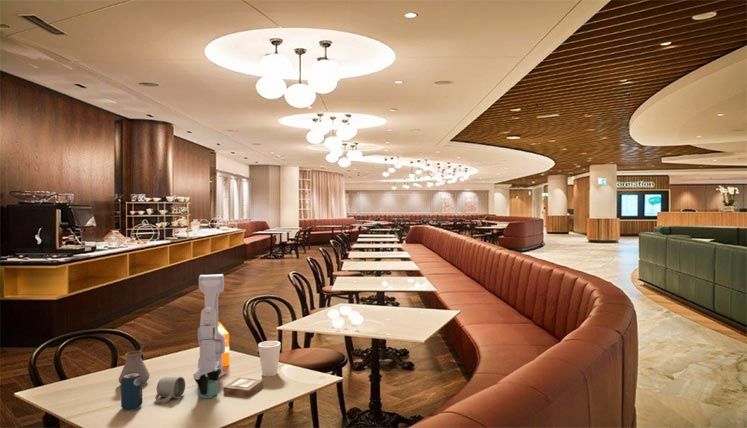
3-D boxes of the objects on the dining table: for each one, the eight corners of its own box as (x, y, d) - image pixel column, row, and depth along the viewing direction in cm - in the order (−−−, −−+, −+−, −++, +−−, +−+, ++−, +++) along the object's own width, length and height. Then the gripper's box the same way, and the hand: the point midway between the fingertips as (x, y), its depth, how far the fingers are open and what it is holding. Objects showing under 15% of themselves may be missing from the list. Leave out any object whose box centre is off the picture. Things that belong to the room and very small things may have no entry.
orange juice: (222, 360, 228) (221, 317, 228) (229, 365, 222) (229, 321, 221) (205, 363, 223) (205, 320, 223) (212, 368, 217) (212, 324, 216)
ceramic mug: (167, 391, 191) (166, 372, 190) (186, 393, 189) (185, 374, 189) (149, 403, 180) (149, 383, 180) (169, 405, 179) (168, 384, 178)
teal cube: (198, 396, 185) (198, 383, 185) (206, 391, 190) (206, 379, 190) (209, 398, 184) (209, 385, 183) (217, 393, 188) (217, 380, 188)
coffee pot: (143, 389, 193) (142, 351, 193) (113, 390, 192) (112, 352, 192) (162, 370, 215) (161, 336, 214) (135, 371, 214) (134, 337, 213)
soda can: (145, 407, 176) (145, 374, 176) (125, 413, 171) (125, 379, 171) (137, 401, 181) (137, 370, 181) (118, 407, 176) (117, 375, 176)
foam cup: (283, 370, 214) (283, 341, 214) (277, 377, 205) (277, 347, 205) (262, 369, 215) (262, 340, 215) (255, 377, 206) (255, 346, 206)
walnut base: (223, 394, 189) (223, 386, 189) (239, 384, 199) (239, 376, 199) (248, 398, 185) (248, 389, 185) (263, 387, 196) (263, 379, 196)
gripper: (204, 363, 178) (205, 400, 179) (227, 351, 192) (228, 385, 192) (188, 361, 180) (189, 397, 181) (212, 350, 194) (212, 383, 194)
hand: (208, 391), depth 187 cm, fingers closed on teal cube, 5 cm apart
